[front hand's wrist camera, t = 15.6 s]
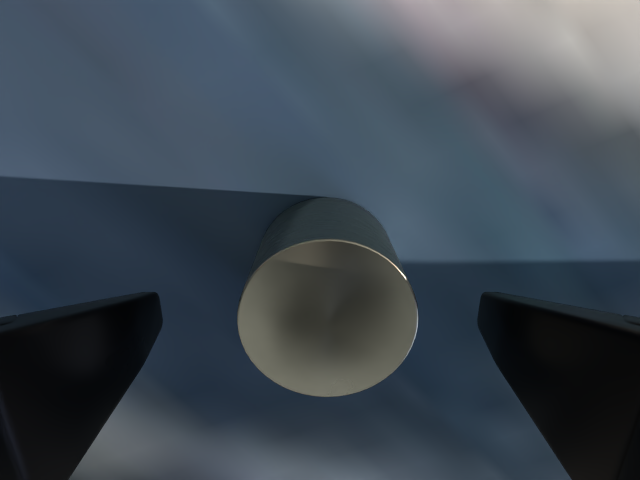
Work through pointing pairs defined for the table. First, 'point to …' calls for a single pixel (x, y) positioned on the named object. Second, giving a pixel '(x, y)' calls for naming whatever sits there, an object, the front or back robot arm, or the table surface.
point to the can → (327, 301)
